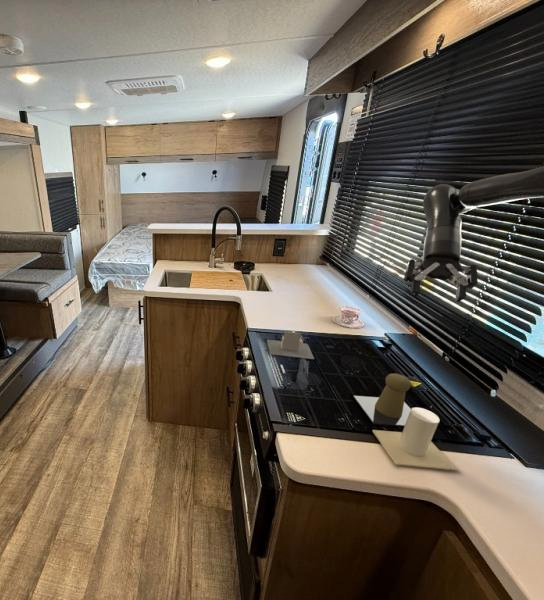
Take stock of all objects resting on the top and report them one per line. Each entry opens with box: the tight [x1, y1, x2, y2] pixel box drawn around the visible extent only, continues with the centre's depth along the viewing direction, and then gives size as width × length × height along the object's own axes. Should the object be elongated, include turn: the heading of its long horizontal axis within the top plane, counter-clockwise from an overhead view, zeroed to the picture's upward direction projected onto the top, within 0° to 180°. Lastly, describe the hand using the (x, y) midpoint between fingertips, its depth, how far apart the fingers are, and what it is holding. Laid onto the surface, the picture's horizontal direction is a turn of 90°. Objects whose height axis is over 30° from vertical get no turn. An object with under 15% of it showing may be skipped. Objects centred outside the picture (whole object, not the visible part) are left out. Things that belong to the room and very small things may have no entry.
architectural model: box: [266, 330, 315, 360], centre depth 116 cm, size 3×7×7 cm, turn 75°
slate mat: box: [352, 395, 412, 428], centre depth 85 cm, size 13×11×1 cm
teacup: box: [331, 305, 365, 329], centre depth 135 cm, size 12×12×6 cm
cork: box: [375, 373, 412, 418], centre depth 83 cm, size 6×6×11 cm
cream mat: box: [372, 429, 457, 471], centre depth 73 cm, size 12×10×1 cm
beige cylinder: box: [398, 407, 441, 457], centre depth 71 cm, size 5×5×10 cm
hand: (437, 297), depth 81 cm, fingers open, 8 cm apart
